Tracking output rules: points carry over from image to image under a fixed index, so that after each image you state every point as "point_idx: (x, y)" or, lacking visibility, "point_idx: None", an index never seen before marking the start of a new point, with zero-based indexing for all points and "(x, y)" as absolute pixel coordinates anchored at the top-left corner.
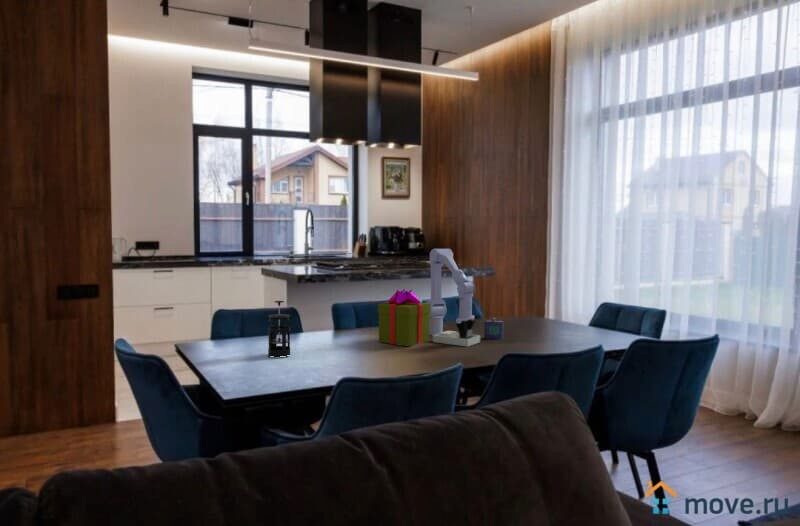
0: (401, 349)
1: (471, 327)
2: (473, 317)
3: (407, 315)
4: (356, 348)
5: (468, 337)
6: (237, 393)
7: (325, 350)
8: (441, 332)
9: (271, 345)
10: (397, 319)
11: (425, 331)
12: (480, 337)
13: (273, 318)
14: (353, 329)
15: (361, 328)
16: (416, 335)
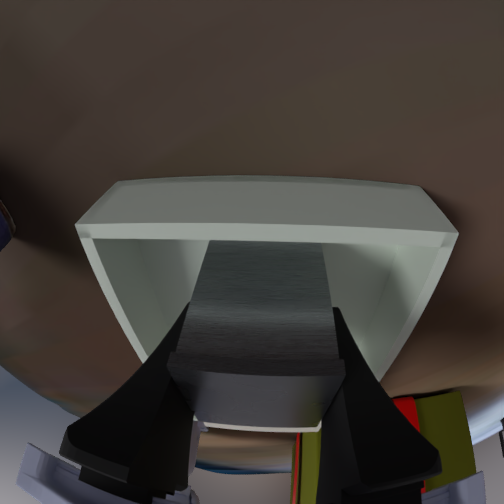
0: (489, 377)
1: (157, 390)
2: (40, 480)
3: None
4: (471, 415)
5: (303, 281)
6: None
7: (486, 418)
8: (295, 431)
9: (501, 432)
10: None
11: None
12: (87, 211)
13: None
14: (263, 470)
15: (242, 468)
16: (423, 431)
